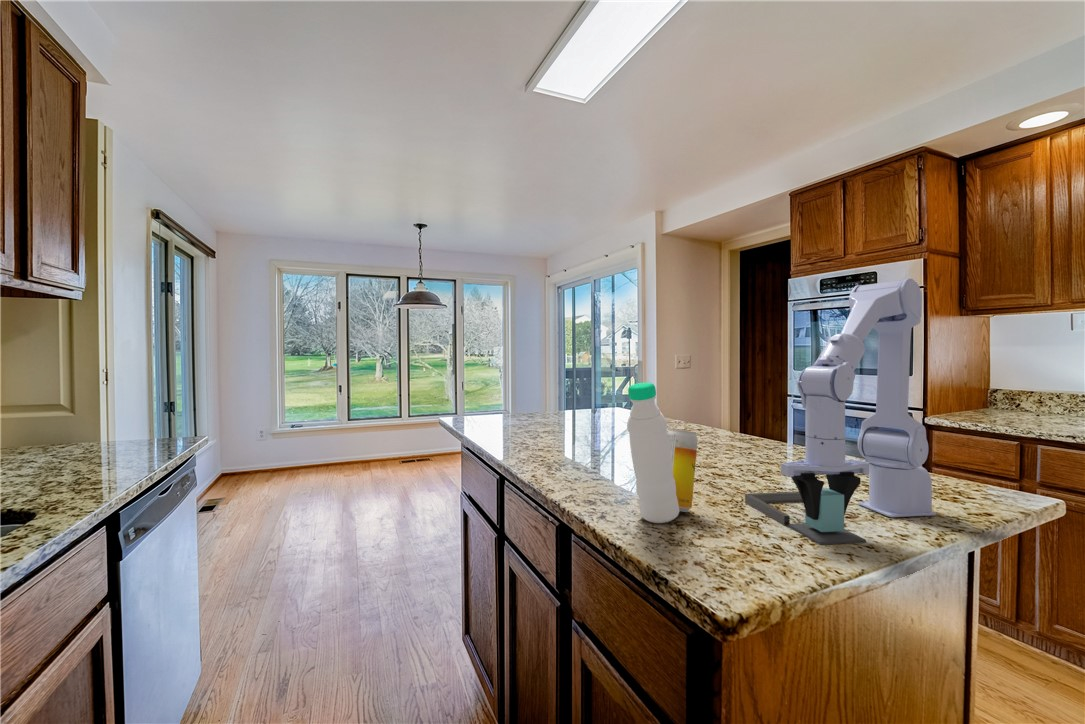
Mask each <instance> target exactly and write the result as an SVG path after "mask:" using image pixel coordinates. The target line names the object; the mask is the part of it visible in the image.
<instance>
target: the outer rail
mask: <svg viewBox="0 0 1085 724" xmlns="http://www.w3.org/2000/svg"><path fill="white" fill-rule="evenodd" d="M790 502H791V503H794V502H795V503H797V502H803V500H802V498H801V495H800V493H799V491H784V492H783V491H782V492H781V491H779V492H756V493H755V492H754V493H752V492H751V493H750V492H749V493H745V494H744V503H745V504H746V505H748V506H750V507H752V508H754V509H755V510H757V511H758V512H760V513H762V514H764V515H765V516H767V517H768V518H770V519H771V520H774V521H776V522H777V523H779V524H781V525H783V526H784V527H785V526H786V527H788V524H791V523H790V521H791V519H790V517H791V516H790V515H789V514H787V513H785V512H783V511H782V510H779V509H778V508H776V507H774V506H772V505H771V504H770V503H773V504H774V503H790Z"/></svg>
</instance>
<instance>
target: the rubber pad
mask: <svg viewBox="0 0 1085 724" xmlns="http://www.w3.org/2000/svg"><path fill="white" fill-rule="evenodd" d="M787 527H789V528H790V529H792V530H794V531H795V532H797V533H799V534H801V535H802V536H804V537H806V538H807V539H809V540H811V541H813V542H814V543H816V544H818V545H837V544H841V543H842V544H856V543H857V544H858V543H867V539H865V538H863V537H862V536H859V535H857V534H855V533H853V532H851V531H849V530H847V529H846V528H844V531H834V532H820V531H819V530H817V529H815V528H813V527H811V526H809V525H807V524H806V523H805V522H802V523H790V524H788V526H787Z"/></svg>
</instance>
